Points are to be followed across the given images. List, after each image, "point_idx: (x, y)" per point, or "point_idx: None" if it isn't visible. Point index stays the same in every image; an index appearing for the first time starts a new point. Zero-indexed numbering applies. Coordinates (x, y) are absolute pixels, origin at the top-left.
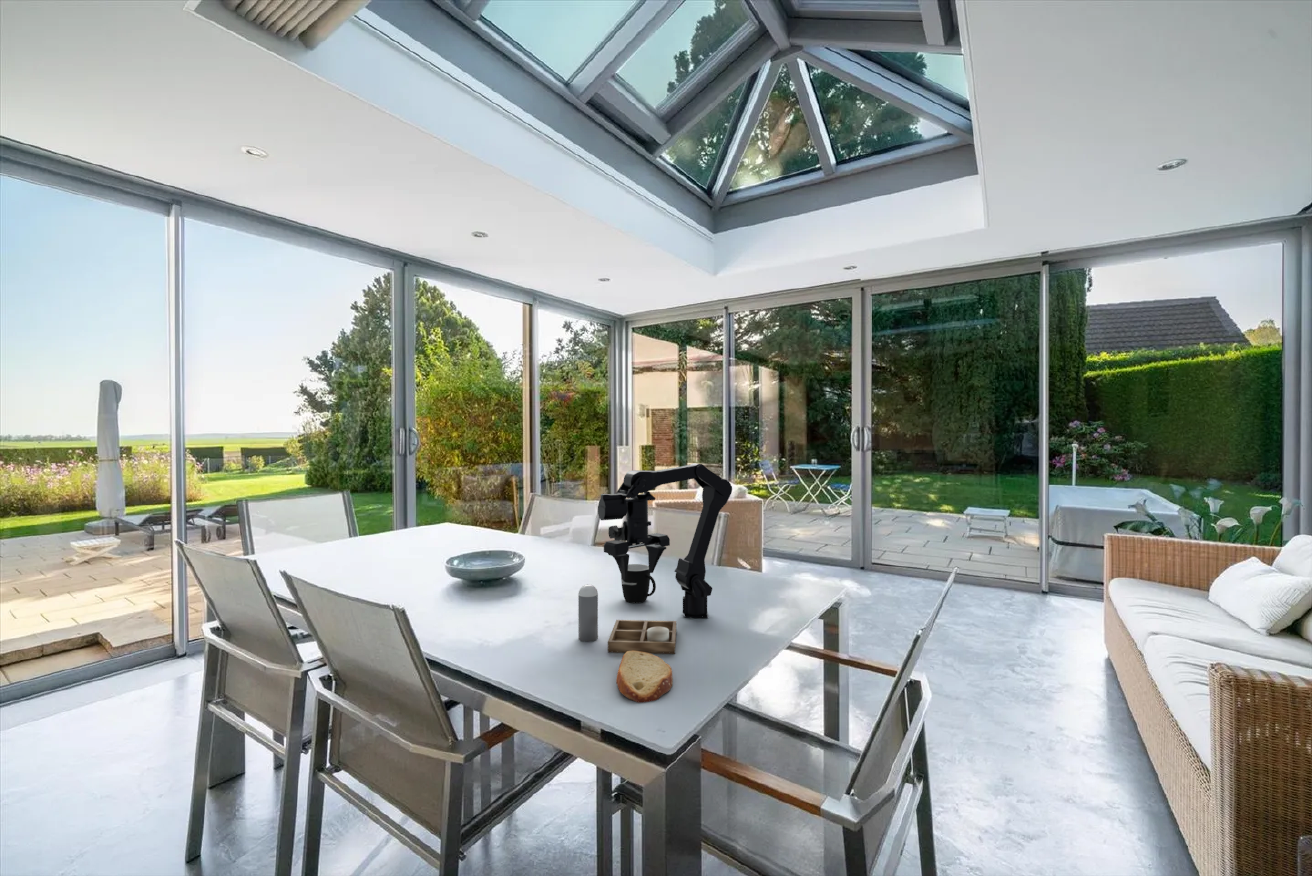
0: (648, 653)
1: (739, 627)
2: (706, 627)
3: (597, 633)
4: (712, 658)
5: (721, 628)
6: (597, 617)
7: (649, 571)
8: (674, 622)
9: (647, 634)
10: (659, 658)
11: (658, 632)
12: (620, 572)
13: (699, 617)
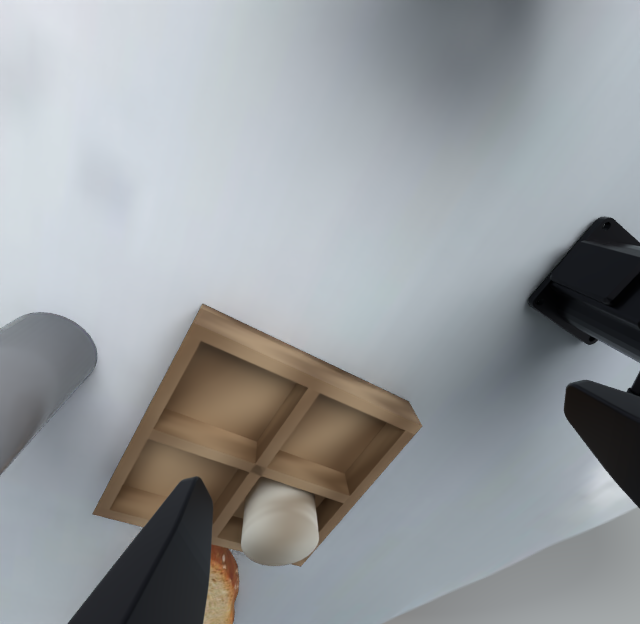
0: (211, 566)
1: None
2: (511, 409)
3: (81, 382)
4: (366, 569)
5: (539, 431)
6: (36, 433)
7: (575, 394)
8: (405, 437)
9: (242, 528)
10: (226, 593)
11: (271, 556)
12: (129, 545)
13: (567, 330)
